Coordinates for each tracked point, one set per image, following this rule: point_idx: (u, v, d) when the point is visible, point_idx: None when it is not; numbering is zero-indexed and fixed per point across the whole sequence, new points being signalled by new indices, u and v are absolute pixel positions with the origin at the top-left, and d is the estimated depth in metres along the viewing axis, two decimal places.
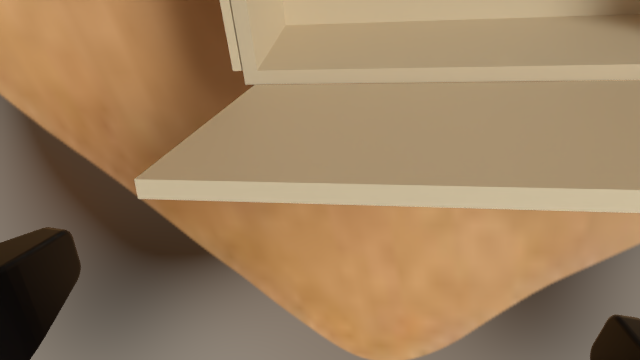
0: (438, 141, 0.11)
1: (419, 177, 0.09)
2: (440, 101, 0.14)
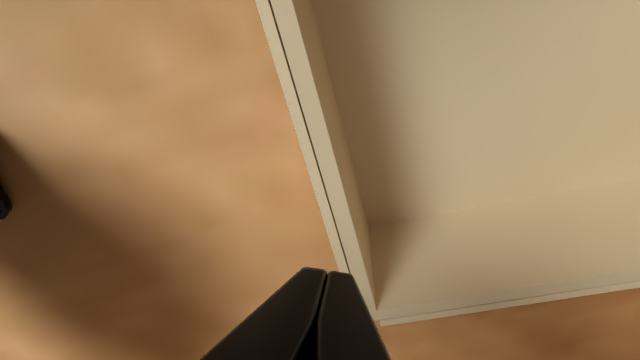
0: None
1: None
2: None
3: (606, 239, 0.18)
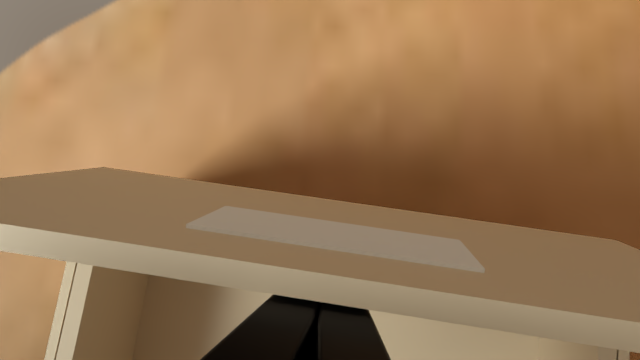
0: None
1: (481, 318, 0.07)
2: None
3: (573, 353, 0.16)
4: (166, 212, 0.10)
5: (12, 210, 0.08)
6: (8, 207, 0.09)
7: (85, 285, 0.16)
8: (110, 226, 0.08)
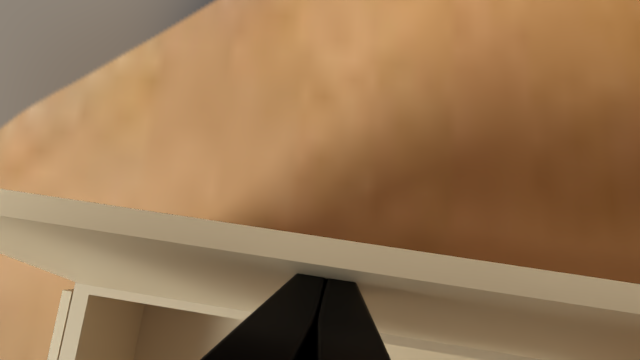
0: (431, 309, 0.09)
1: (484, 295, 0.07)
2: (399, 326, 0.12)
3: None
4: None
5: None
6: None
7: None
8: None
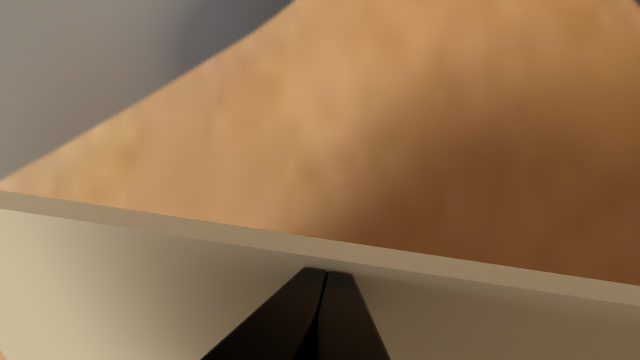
0: (422, 356, 0.09)
1: (469, 294, 0.08)
2: None
3: None
4: None
5: None
6: None
7: None
8: None
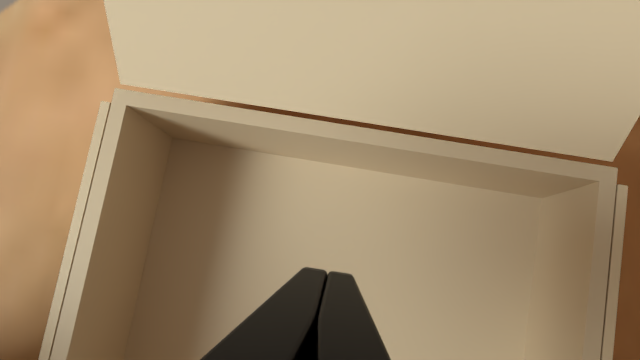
0: None
1: None
2: (431, 59, 0.14)
3: (567, 271, 0.17)
4: None
5: None
6: None
7: (102, 194, 0.16)
8: None
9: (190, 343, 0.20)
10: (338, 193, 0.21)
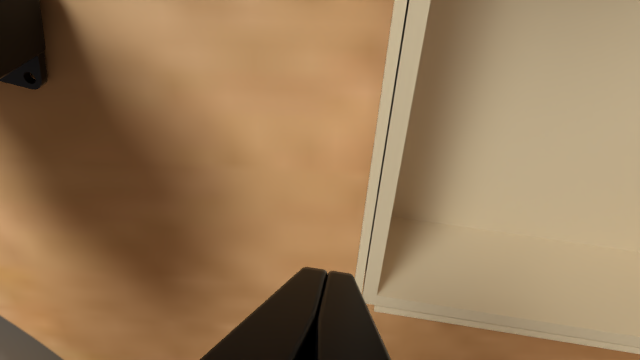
0: None
1: None
2: None
3: (601, 298, 0.19)
4: None
5: None
6: None
7: None
8: None
9: None
10: None
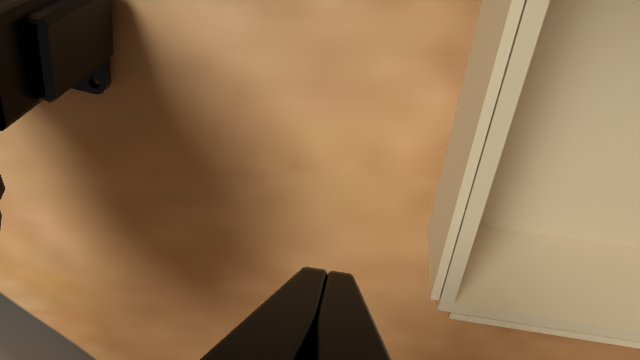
0: None
1: None
2: None
3: None
4: None
5: None
6: None
7: None
8: None
9: None
10: None
